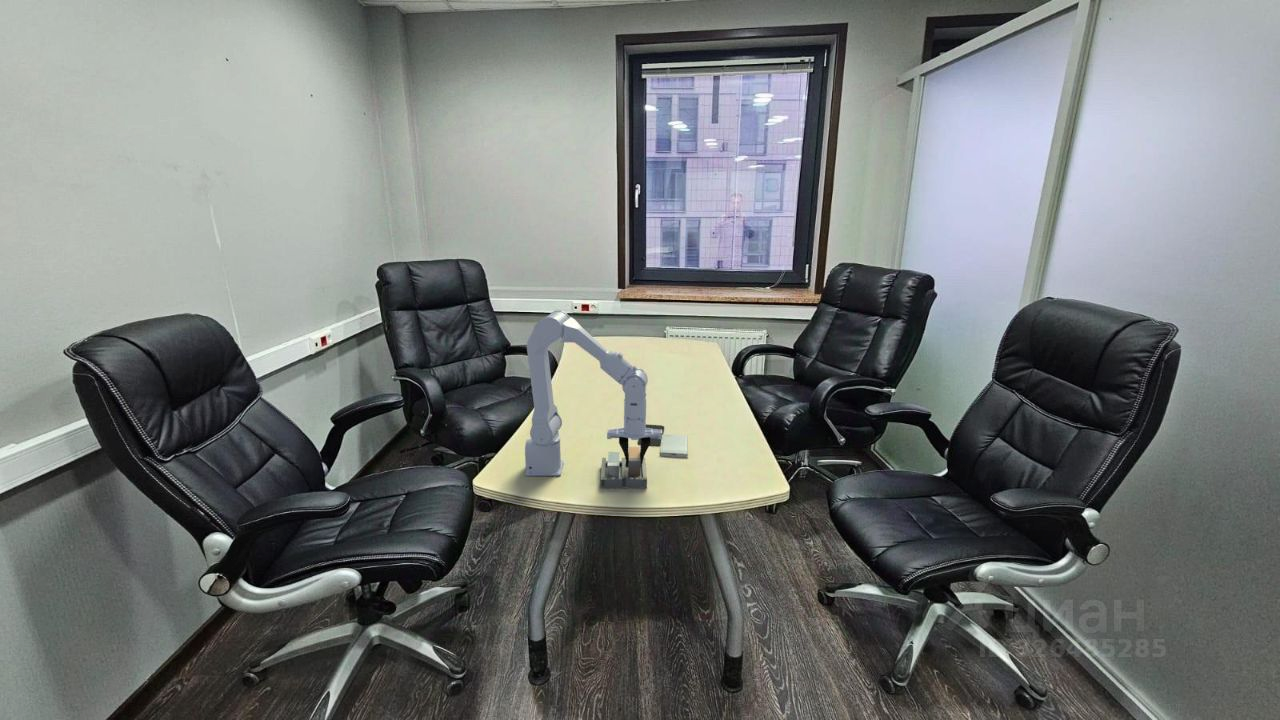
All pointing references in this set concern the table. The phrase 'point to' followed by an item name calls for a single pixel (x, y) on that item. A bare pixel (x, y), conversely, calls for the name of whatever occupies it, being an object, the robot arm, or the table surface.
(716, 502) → the table surface
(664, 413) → the table surface
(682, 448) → the hard drive
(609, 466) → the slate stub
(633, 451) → the terracotta stub
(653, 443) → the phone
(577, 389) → the table surface
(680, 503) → the table surface
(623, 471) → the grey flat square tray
